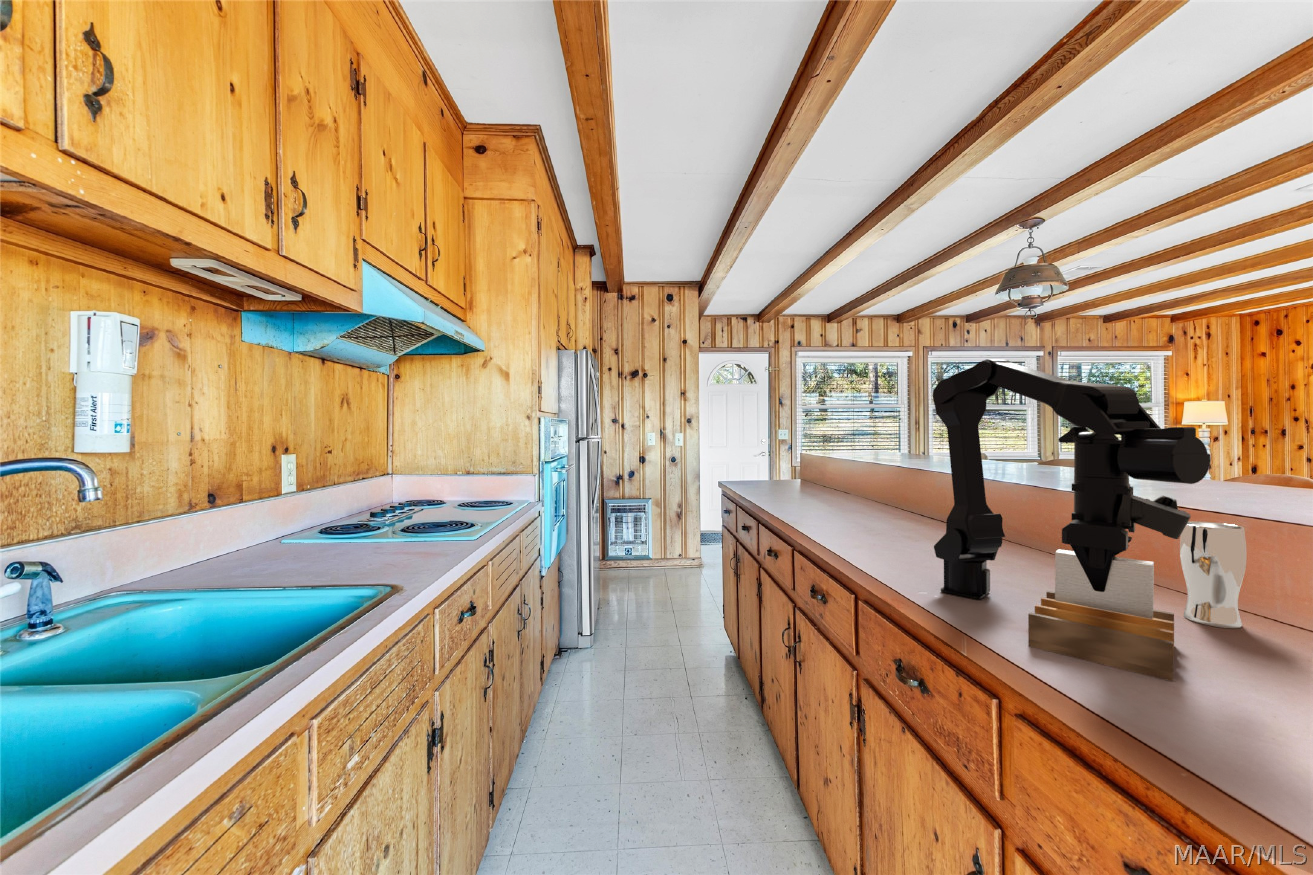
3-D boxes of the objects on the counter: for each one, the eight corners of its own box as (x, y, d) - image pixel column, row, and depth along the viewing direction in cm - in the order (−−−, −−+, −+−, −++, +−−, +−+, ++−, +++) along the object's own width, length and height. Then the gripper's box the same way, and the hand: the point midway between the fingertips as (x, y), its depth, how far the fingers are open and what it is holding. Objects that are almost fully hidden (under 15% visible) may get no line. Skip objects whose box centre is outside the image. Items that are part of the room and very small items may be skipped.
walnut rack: (1028, 646, 70) (1028, 613, 70) (1047, 618, 80) (1047, 590, 80) (1172, 681, 60) (1172, 643, 60) (1174, 645, 70) (1174, 612, 70)
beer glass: (1191, 624, 77) (1191, 526, 77) (1171, 610, 83) (1171, 519, 83) (1257, 632, 74) (1257, 530, 73) (1231, 617, 80) (1231, 522, 80)
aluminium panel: (1055, 600, 72) (1055, 552, 72) (1057, 596, 74) (1058, 549, 74) (1152, 619, 65) (1153, 565, 65) (1153, 614, 67) (1153, 561, 67)
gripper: (1185, 486, 57) (1184, 622, 58) (1185, 475, 70) (1184, 586, 70) (1061, 480, 65) (1060, 599, 66) (1081, 471, 78) (1080, 571, 78)
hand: (1100, 588), depth 70 cm, fingers closed on aluminium panel, 2 cm apart
